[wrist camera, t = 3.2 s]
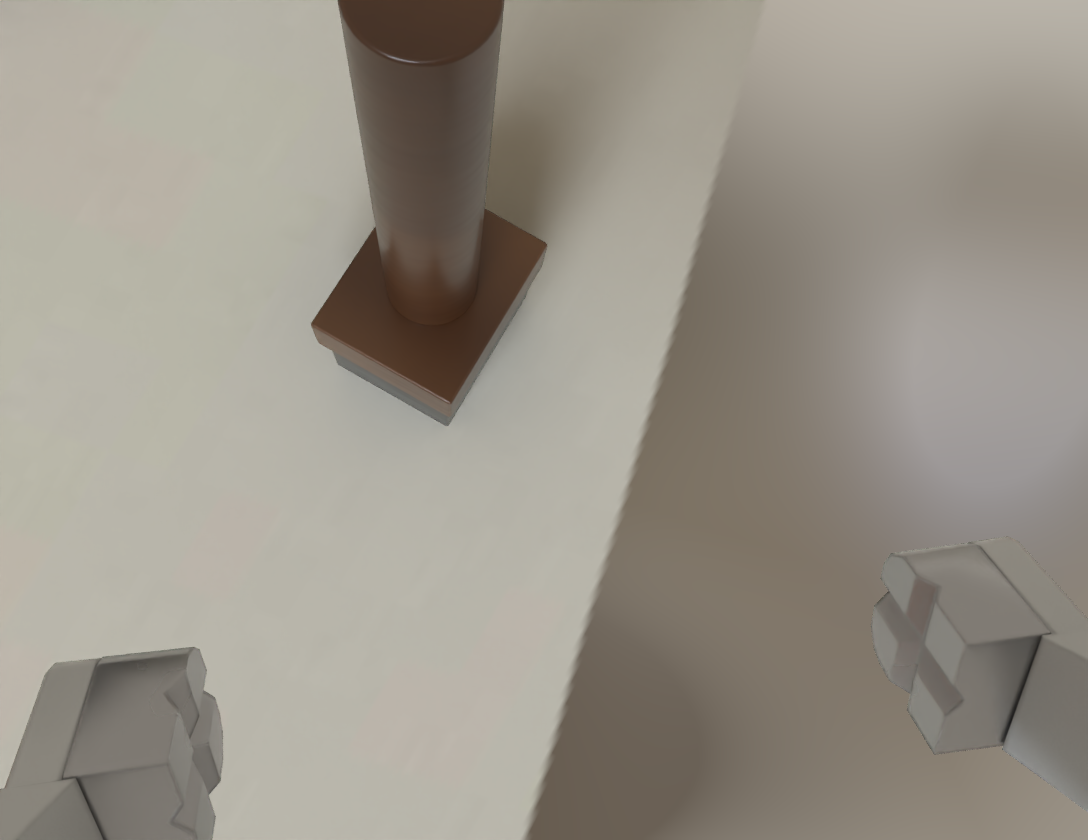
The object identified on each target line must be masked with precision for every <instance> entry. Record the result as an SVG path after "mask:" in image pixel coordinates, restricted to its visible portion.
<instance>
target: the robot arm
mask: <svg viewBox="0 0 1088 840" xmlns="http://www.w3.org/2000/svg"><path fill="white" fill-rule="evenodd" d="M881 580H882V581H883V583H884V585H885V586H886V588H887V589H888V592H887V593H886V594H885V595H884V597H882V598H881V599H880V600H879V601H878V602H877V604H876V605H875V606H874V611H873V617H872V623H871V630H872V638H873V646H874V650H875V653H876V655H877V658H878V661H879V664H880V666H881V667H882V669H883V671H884V672H885V674H886V676H887V678H888V679H889V681H890V682H892V683H894V684H895V685H897V686H899V687H900V688H902V689H904V690H905V691H907V692H908V693H910V698H909V703H908V707H907V711H908V713H909V714H910V716H911V717H912V719H913V721H914V723H915V724H916V726H917V727H918V729H919V730H920V732H921V734H922V736H923V737H924V739H925V740H926V742H927V744H928V745H929V747H930V749H931V750H932V752H933V754H942V753H950V752H958V751H966V750H973V749H981V748H988V747H996V746H1003V748H1002V750H1004V751H1005V752H1006V753H1008V754H1009V755H1011V756H1012V757H1013V758H1015V759H1016V760H1018V761H1019V762H1020V763H1021V764H1023V765H1024V766H1026V767H1027V768H1028V769H1030V770H1031V771H1033V772H1034V773H1035V774H1037V775H1038V776H1039V777H1041V778H1042V779H1043V780H1045V781H1046V782H1047V783H1049V784H1050V785H1052V786H1053V787H1054V788H1056V789H1057V790H1058V791H1060V792H1061V793H1063V794H1064V795H1065V796H1067V797H1068V798H1069V799H1071V800H1072V801H1074V802H1075V803H1076V804H1077V805H1079V806H1080V807H1082V808H1083V809H1084V810H1086V811H1087V812H1088V618H1087V617H1086V616H1085V615H1084V614H1083V613H1082V612H1081V610H1080V609H1079V608H1078V607H1077V606H1076V605H1075V604H1074V603H1073V601H1071V599H1070V598H1069V597H1068V596H1067V595H1066V594H1065V593H1064V591H1063V590H1062V589H1061V588H1060V587H1059V586H1058V585H1057V584H1056V583H1055V582H1054V580H1053V579H1052V578H1051V577H1050V576H1049V575H1048V574H1047V573H1046V571H1045V570H1044V569H1043V568H1042V567H1041V566H1040V565H1039V564H1038V562H1036V560H1035V559H1034V558H1033V557H1032V556H1031V555H1030V554H1029V552H1028V551H1027V550H1026V549H1025V548H1024V547H1023V546H1022V545H1021V544H1020V543H1019V542H1018V541H1016V540H1014V539H1012V538H1010V537H1001V538H994V539H987V540H980V541H974V542H969V543H967V544H966V543H961V544H954V545H947V546H940V547H933V548H926V549H919V550H912V551H905V552H898V553H892V554H890V555H889V557H888V558H887V559H886V561H885V562H884V566H883V570H882V574H881ZM206 672H207V670H206V667H205V664H204V661H203V658H202V655H201V653H200V650H199V649H197V648H195V647H188V648H179V649H170V650H161V651H152V652H143V653H134V654H125V655H115V656H106V657H102V658H98V659H89V660H79V661H69V662H60V663H55V664H54V665H53V666H52V667H51V668H50V669H49V670H48V672H47V673H46V674H45V676H44V679H43V681H42V684H41V687H40V690H39V693H38V695H37V698H36V701H35V704H34V707H33V709H32V712H31V715H30V718H29V721H28V723H27V726H26V729H25V732H24V735H23V737H22V740H21V743H20V746H19V749H18V752H17V754H16V757H15V760H14V763H13V766H12V768H11V771H10V774H9V777H8V780H7V782H6V785H5V788H4V789H0V840H212V838H213V831H214V824H215V817H216V816H215V813H214V810H213V807H212V804H211V801H210V798H209V794H210V793H211V792H212V791H213V789H214V788H215V787H216V786H217V785H218V784H219V782H220V780H221V772H222V763H223V731H222V725H221V718H220V713H219V709H218V706H217V702H216V699H215V697H213V696H212V695H210V694H209V693H207V692H205V691H204V684H205V678H206Z"/></svg>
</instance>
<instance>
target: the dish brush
mask: <svg viewBox="0 0 1088 840" xmlns="http://www.w3.org/2000/svg"><path fill="white" fill-rule="evenodd" d="M338 5H339V11H340V17H341V23H342V29H343V35H344V41H345V47H346V53H347V59H348V65H349V71H350V77H351V83H352V89H353V95H354V101H355V107H356V113H357V119H358V124H359V130H360V136H361V142H362V148H363V154H364V160H365V166H366V172H367V178H368V184H369V190H370V196H371V202H372V208H373V214H374V220H375V228H374V229H373V231H372V232H371V234H370V235H369V237H368V238H367V240H366V241H365V243H364V244H363V246H362V247H361V249H360V250H359V252H358V253H357V255H356V256H355V258H354V259H353V261H352V262H351V264H350V265H349V267H348V268H347V270H346V271H345V273H344V274H343V276H342V278H341V279H340V281H339V282H338V284H337V285H336V287H335V288H334V290H333V291H332V293H331V294H330V296H329V297H328V299H327V300H326V302H325V303H324V305H323V306H322V308H321V309H320V311H319V312H318V314H317V315H316V317H315V318H314V320H313V321H312V323H311V326H312V329H313V331H314V333H315V336H316V338H317V340H318V342H319V343H320V344H322V345H323V346H325V347H327V348H329V349H330V350H332V351H333V353H334V356H335V358H336V361H337V363H338V365H340V366H342V367H344V368H345V369H347V370H349V371H351V372H352V373H354V374H356V375H358V376H359V377H361V378H363V379H365V380H366V381H368V382H370V383H372V384H373V385H375V386H377V387H379V388H381V389H382V390H384V391H386V392H388V393H389V394H391V395H393V396H395V397H396V398H398V399H400V400H402V401H403V402H405V403H407V404H409V405H410V406H412V407H414V408H416V409H417V410H419V411H421V412H423V413H424V414H426V415H428V416H430V417H431V418H433V419H435V420H437V421H438V422H440V423H442V424H444V425H445V426H448V425H449V423H450V422H451V420H452V418H453V417H454V415H455V413H456V412H457V410H458V408H459V407H460V405H461V403H462V402H463V400H464V398H465V397H466V395H467V393H468V392H469V390H470V388H471V387H472V385H473V383H474V382H475V380H476V378H477V377H478V375H479V373H480V372H481V370H482V368H483V367H484V365H485V363H486V362H487V360H488V358H489V357H490V355H491V353H492V352H493V350H494V348H495V347H496V345H497V343H498V342H499V340H500V338H501V337H502V335H503V333H504V332H505V330H506V329H507V327H508V325H509V324H510V322H511V320H512V319H513V317H514V315H515V314H516V312H517V310H518V309H519V307H520V305H521V304H522V302H523V300H524V299H525V297H526V293H527V290H528V288H529V287H530V285H531V283H532V282H533V280H534V278H535V277H536V275H537V273H538V272H539V270H540V268H541V267H542V263H543V260H544V256H545V252H546V248H547V244H546V243H545V242H543V241H541V240H540V239H538V238H536V237H534V236H533V235H531V234H529V233H527V232H525V231H524V230H522V229H520V228H518V227H517V226H515V225H513V224H511V223H510V222H508V221H506V220H504V219H502V218H501V217H499V216H497V215H495V214H494V213H492V212H490V211H488V210H487V209H485V199H486V189H487V178H488V168H489V157H490V147H491V136H492V126H493V115H494V104H495V94H496V83H497V73H498V62H499V52H500V41H501V31H502V20H503V10H504V0H338Z"/></svg>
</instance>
